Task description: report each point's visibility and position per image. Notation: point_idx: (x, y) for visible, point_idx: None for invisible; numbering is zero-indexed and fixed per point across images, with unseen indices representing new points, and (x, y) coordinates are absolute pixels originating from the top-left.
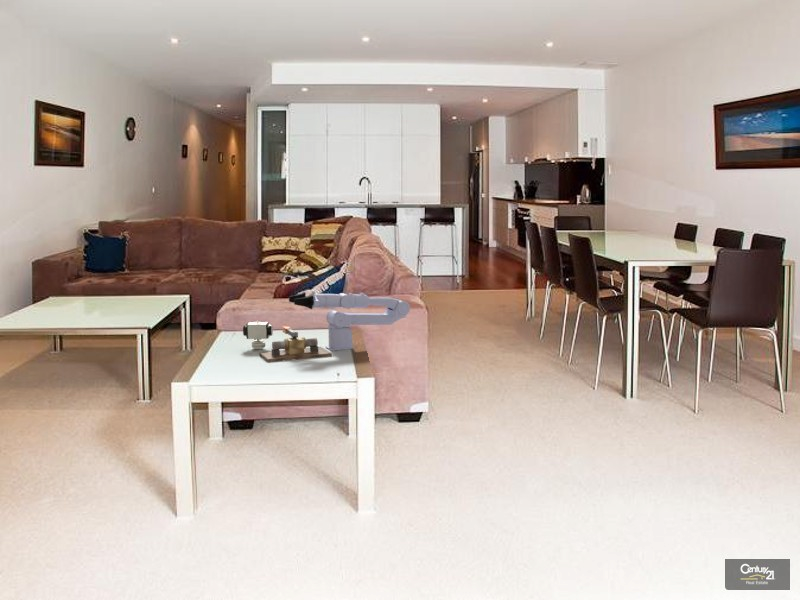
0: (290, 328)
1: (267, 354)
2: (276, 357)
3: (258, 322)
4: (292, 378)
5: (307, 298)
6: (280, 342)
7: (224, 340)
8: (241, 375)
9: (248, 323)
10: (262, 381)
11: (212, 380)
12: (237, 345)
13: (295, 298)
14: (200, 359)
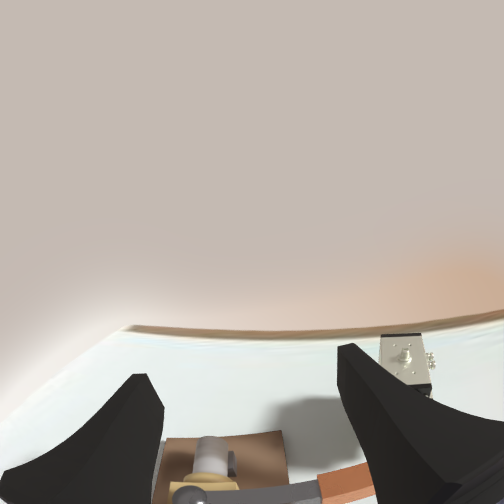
0: (322, 496)
1: (233, 448)
2: (172, 461)
3: (402, 357)
4: (17, 425)
5: (50, 459)
6: (197, 459)
7: (485, 335)
8: (99, 379)
9: (397, 337)
10: (44, 390)
11: (107, 349)
12: (437, 371)
13: (363, 410)
14: (280, 337)
